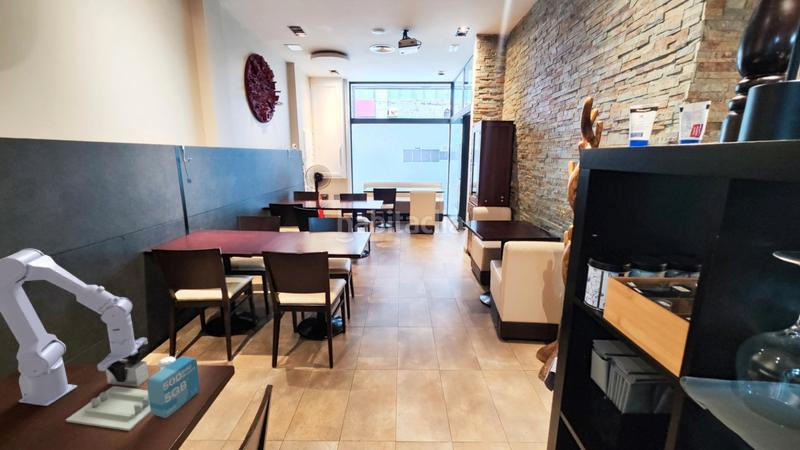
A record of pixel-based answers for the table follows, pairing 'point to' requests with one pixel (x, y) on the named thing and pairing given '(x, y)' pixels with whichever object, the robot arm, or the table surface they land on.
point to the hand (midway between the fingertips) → (127, 376)
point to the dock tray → (115, 409)
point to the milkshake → (166, 362)
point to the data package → (173, 386)
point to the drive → (131, 373)
